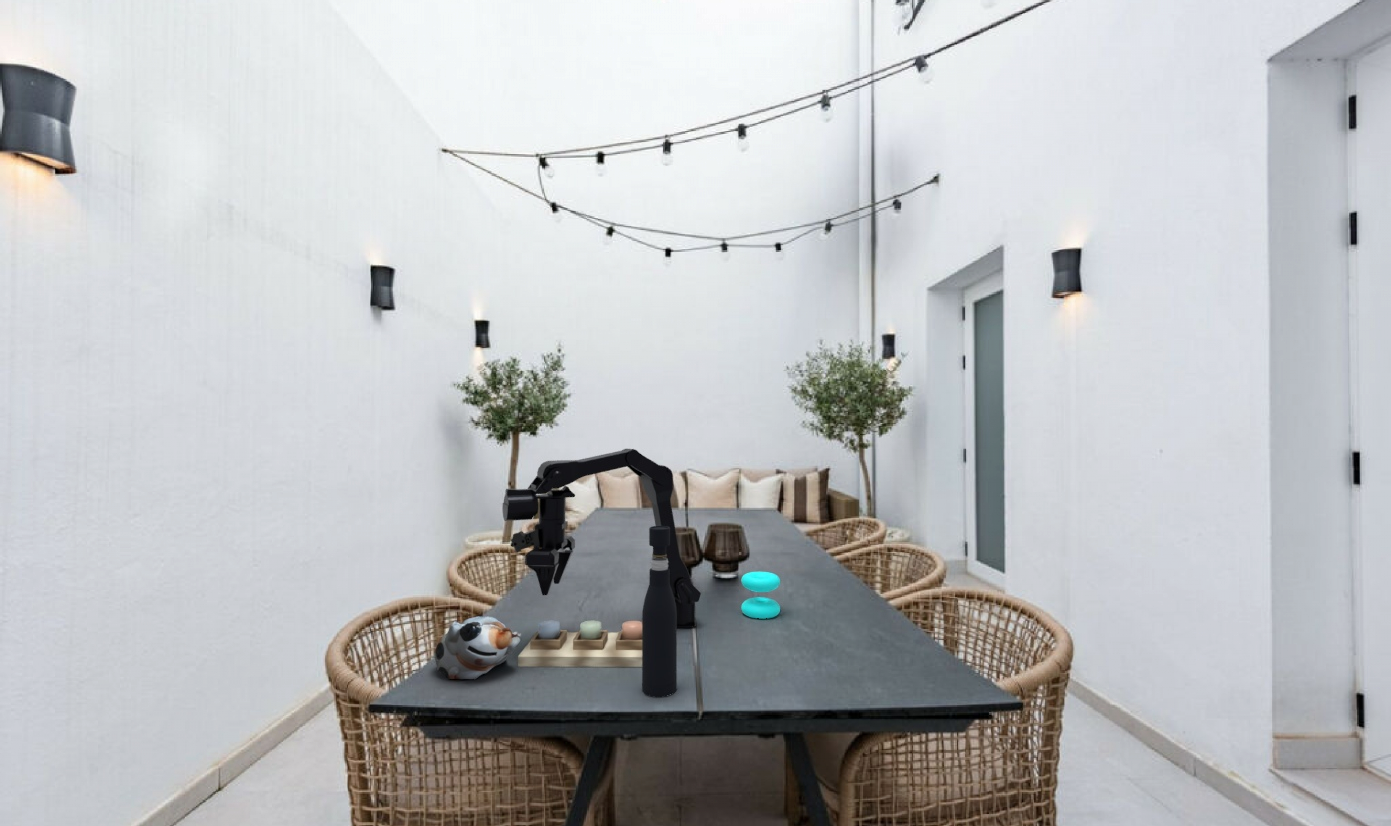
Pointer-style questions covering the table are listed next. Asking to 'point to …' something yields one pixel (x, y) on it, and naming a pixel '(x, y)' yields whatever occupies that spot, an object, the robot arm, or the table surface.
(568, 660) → the button board
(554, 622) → the button slate
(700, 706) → the table surface
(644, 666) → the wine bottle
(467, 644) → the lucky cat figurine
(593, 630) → the button sage
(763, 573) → the donuts
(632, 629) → the button terracotta
